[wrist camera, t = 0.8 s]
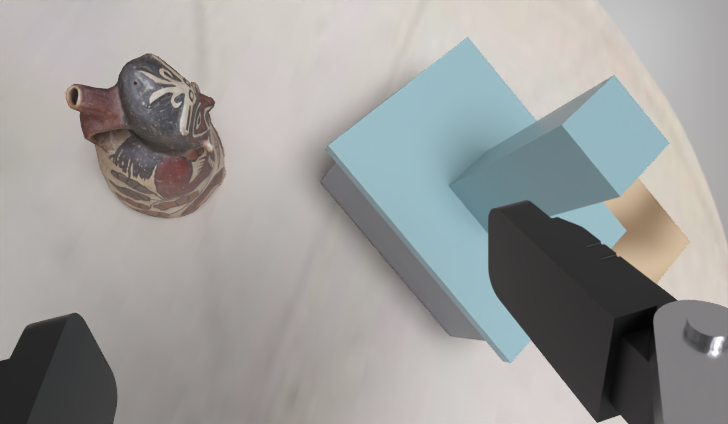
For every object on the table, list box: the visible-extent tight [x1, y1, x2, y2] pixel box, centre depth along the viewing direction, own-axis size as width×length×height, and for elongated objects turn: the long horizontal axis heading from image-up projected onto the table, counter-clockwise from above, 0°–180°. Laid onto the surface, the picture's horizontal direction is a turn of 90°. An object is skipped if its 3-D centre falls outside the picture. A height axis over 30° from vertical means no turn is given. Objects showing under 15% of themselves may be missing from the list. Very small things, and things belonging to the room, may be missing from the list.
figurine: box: [66, 54, 226, 217], centre depth 26 cm, size 7×7×12 cm
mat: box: [603, 178, 690, 284], centre depth 40 cm, size 10×8×1 cm
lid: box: [326, 37, 669, 363], centre depth 24 cm, size 15×11×11 cm
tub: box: [321, 162, 486, 341], centre depth 33 cm, size 14×10×7 cm
